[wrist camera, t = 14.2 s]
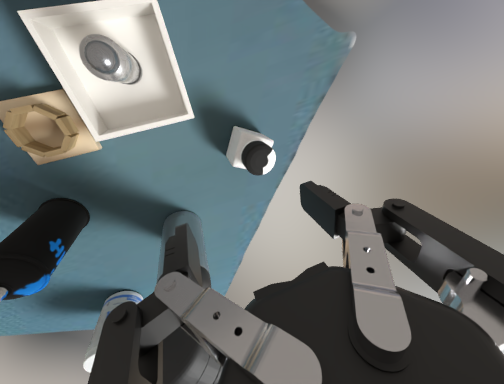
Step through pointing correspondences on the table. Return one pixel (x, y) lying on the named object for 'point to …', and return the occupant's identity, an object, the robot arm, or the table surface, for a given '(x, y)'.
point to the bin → (109, 92)
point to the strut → (109, 60)
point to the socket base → (47, 126)
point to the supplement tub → (107, 308)
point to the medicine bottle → (251, 151)
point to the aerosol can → (39, 247)
